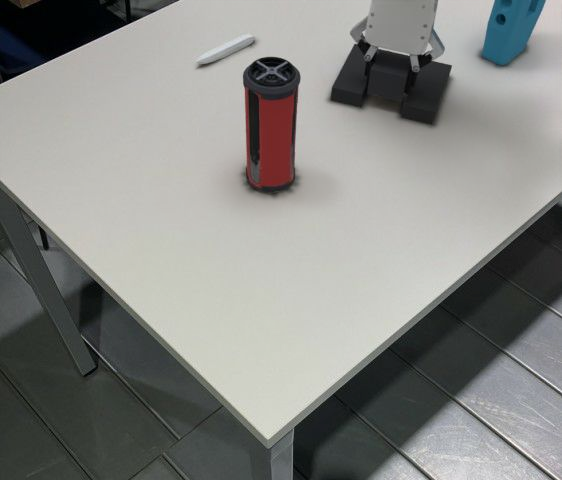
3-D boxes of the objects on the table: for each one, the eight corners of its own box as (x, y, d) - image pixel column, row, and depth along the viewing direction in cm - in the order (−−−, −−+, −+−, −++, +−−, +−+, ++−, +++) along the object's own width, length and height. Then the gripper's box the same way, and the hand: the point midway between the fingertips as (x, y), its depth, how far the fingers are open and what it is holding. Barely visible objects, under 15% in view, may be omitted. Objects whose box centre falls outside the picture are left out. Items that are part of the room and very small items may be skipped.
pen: (193, 66, 112) (192, 58, 110) (252, 38, 117) (251, 29, 115) (198, 70, 111) (198, 62, 110) (257, 41, 116) (257, 33, 115)
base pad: (448, 78, 112) (452, 65, 110) (431, 124, 105) (435, 111, 103) (352, 56, 114) (354, 43, 112) (330, 100, 108) (331, 87, 105)
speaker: (235, 176, 97) (230, 68, 82) (271, 154, 100) (272, 45, 85) (270, 202, 94) (271, 95, 79) (305, 178, 97) (313, 70, 82)
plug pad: (409, 81, 107) (414, 56, 103) (401, 102, 104) (406, 77, 100) (375, 74, 108) (380, 49, 104) (366, 93, 105) (370, 68, 101)
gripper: (473, -31, 90) (443, 83, 106) (360, -53, 93) (346, 61, 109) (463, -5, 87) (433, 109, 102) (345, -29, 89) (334, 85, 105)
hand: (389, 83), depth 105 cm, fingers closed on plug pad, 5 cm apart
